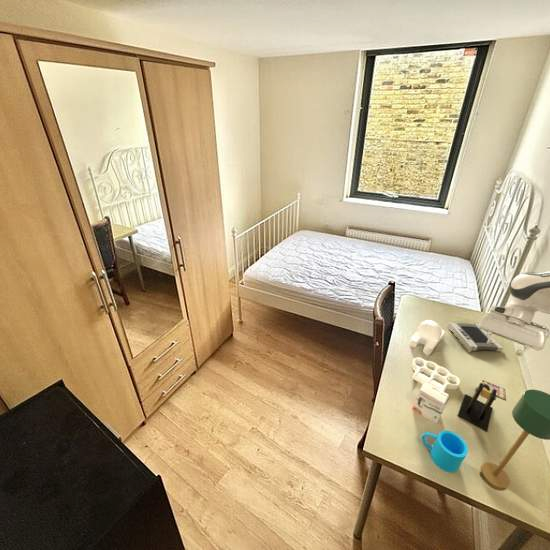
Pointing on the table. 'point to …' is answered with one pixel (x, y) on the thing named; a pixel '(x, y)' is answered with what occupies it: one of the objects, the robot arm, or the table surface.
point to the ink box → (430, 402)
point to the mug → (447, 450)
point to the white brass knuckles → (433, 374)
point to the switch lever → (485, 391)
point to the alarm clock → (473, 337)
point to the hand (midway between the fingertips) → (503, 349)
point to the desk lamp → (533, 420)
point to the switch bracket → (477, 409)
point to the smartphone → (500, 391)
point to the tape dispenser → (427, 336)
